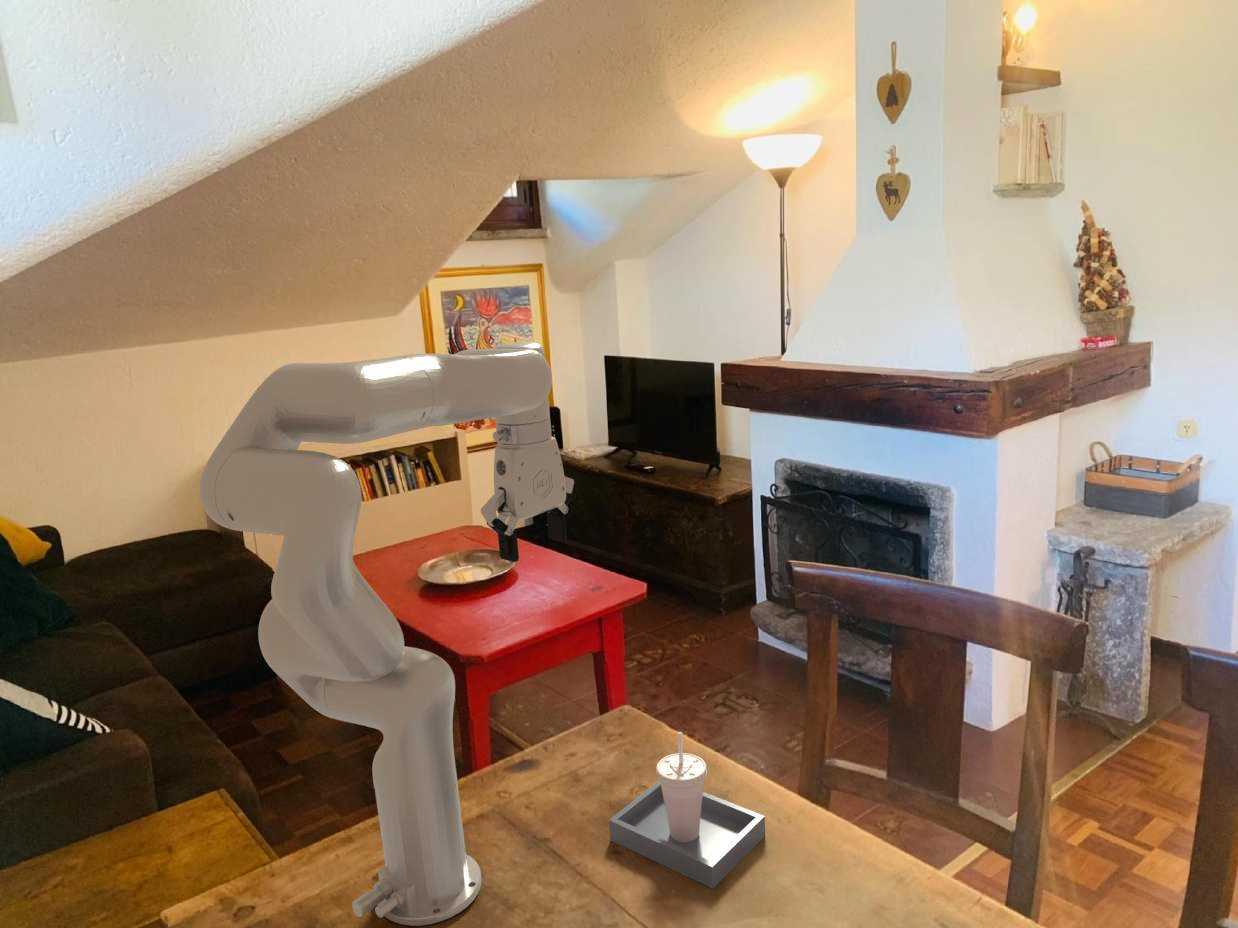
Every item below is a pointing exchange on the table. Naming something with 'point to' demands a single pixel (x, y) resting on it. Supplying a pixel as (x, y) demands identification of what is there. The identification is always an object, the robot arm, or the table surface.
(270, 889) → the table surface
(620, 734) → the table surface
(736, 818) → the grey tray
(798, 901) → the table surface
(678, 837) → the smoothie
